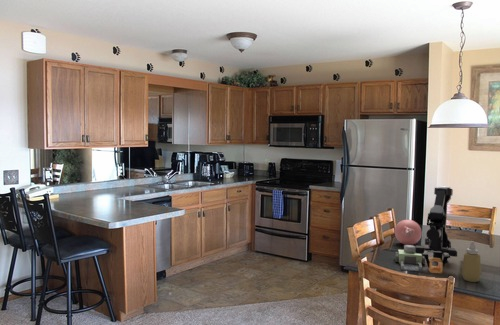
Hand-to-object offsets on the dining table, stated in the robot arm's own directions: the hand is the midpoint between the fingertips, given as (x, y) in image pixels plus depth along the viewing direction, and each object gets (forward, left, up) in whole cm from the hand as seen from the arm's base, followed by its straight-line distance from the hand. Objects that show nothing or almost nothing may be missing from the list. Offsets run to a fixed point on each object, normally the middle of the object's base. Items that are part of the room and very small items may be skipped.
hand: (434, 268), depth 209 cm
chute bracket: (+11, -1, -1) cm, 11 cm away
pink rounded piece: (+10, -47, -1) cm, 48 cm away
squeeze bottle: (-14, +11, -1) cm, 18 cm away
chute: (0, 0, -1) cm, 1 cm away
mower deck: (+11, -11, -1) cm, 16 cm away
